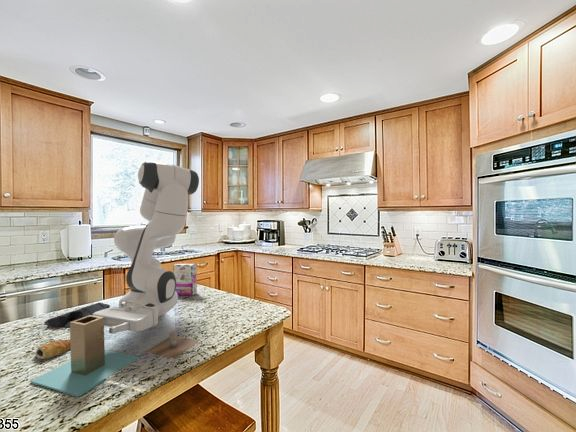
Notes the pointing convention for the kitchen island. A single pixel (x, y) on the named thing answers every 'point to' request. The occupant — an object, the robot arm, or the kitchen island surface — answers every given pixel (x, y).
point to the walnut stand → (172, 346)
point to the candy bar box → (185, 279)
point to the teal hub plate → (79, 383)
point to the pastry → (52, 349)
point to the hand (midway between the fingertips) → (99, 329)
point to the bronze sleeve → (87, 344)
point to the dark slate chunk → (75, 315)
